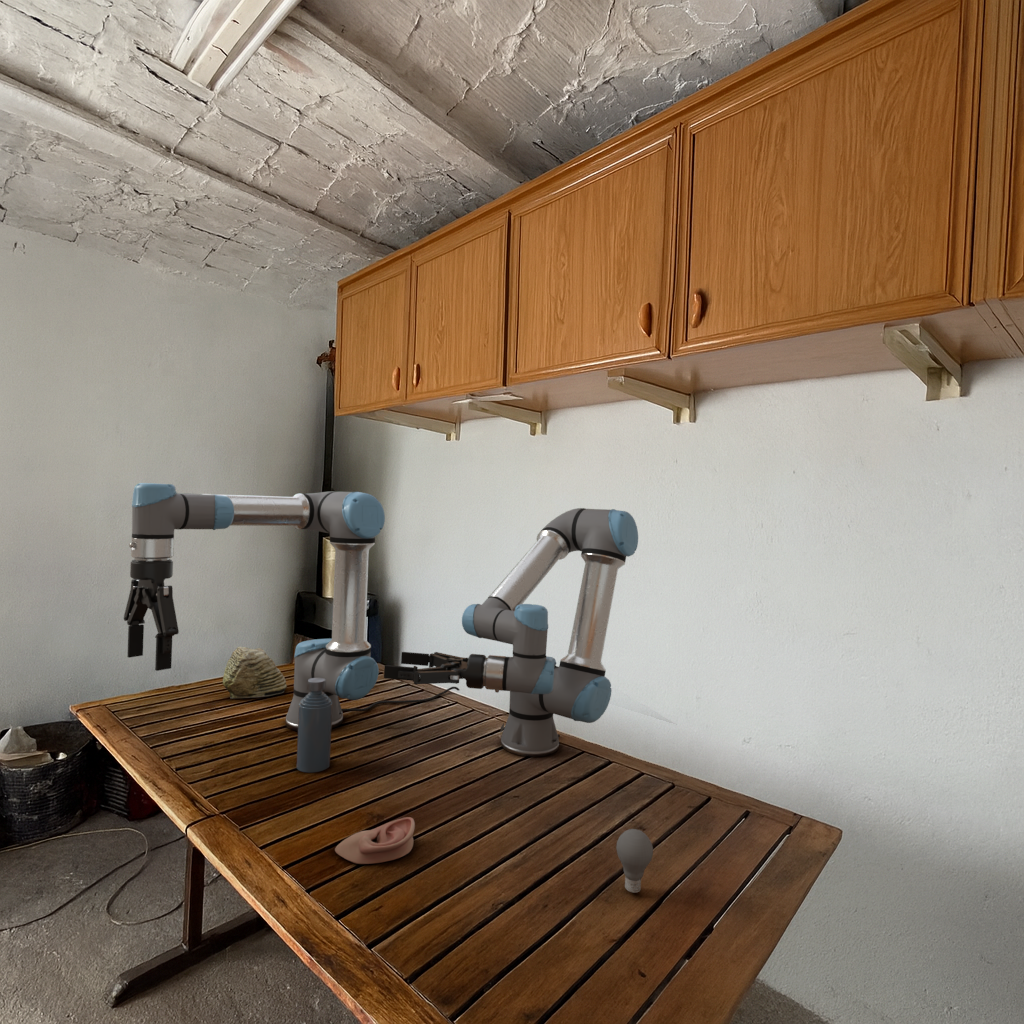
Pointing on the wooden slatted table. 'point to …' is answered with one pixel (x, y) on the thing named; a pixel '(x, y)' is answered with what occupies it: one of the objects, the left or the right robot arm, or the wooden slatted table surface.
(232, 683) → the fossil
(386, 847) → the anatomical model
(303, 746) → the bottle
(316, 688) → the cap
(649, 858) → the light bulb
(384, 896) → the wooden slatted table surface
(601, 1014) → the wooden slatted table surface
